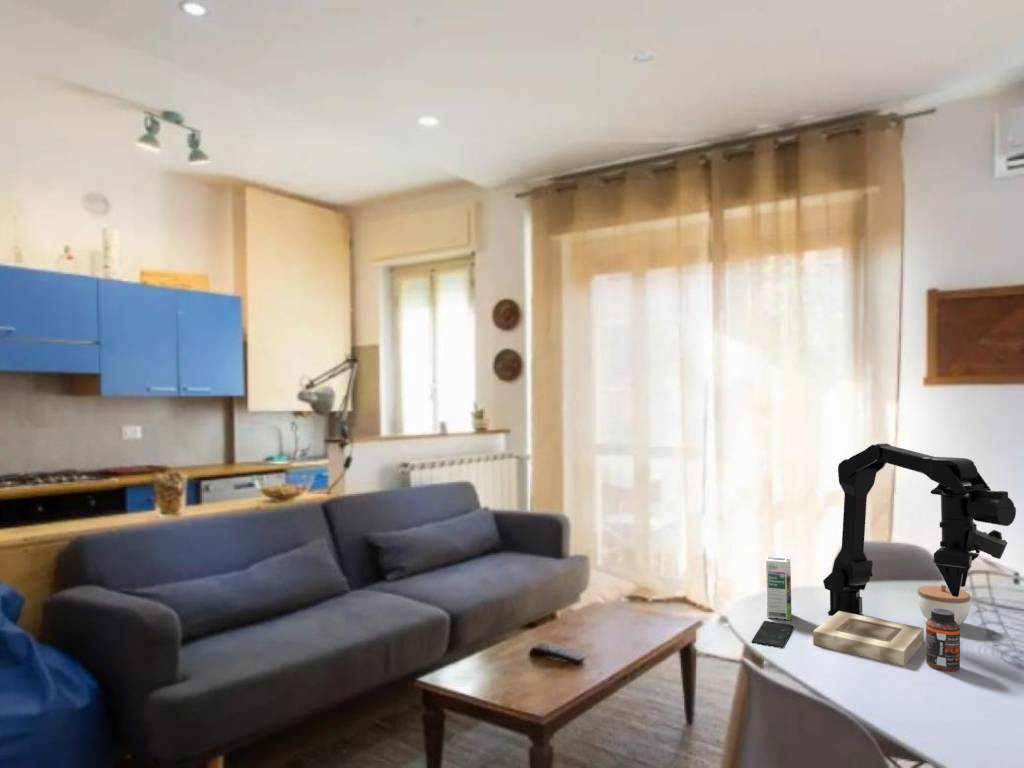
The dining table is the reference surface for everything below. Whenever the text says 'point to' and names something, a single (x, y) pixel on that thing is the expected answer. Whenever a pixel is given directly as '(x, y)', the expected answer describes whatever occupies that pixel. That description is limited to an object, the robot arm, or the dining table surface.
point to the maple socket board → (869, 637)
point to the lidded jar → (943, 601)
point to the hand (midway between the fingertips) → (958, 591)
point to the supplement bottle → (942, 641)
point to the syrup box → (778, 587)
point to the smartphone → (773, 634)
